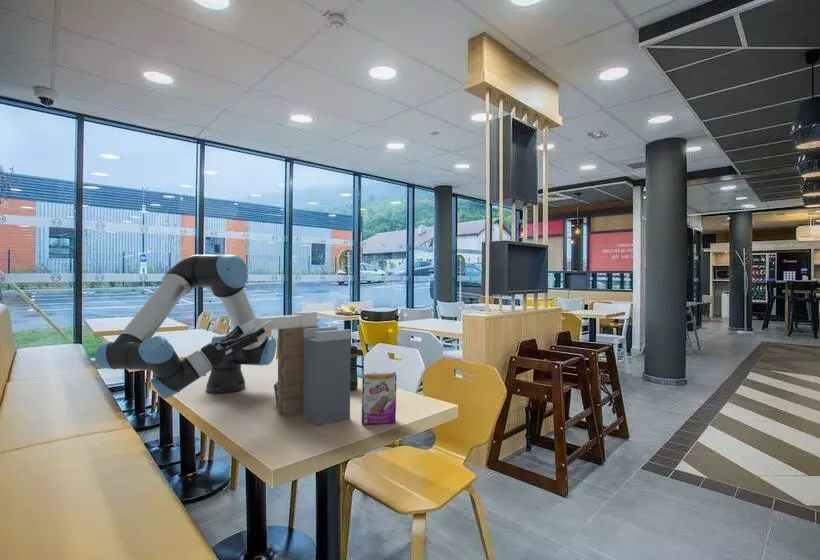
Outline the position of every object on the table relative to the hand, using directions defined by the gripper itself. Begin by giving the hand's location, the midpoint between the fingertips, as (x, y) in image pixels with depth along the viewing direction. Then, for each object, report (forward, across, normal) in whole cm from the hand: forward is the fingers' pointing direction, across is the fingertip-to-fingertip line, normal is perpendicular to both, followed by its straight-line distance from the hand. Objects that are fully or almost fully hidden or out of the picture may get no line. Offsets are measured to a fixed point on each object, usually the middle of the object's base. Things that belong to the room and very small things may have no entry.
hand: (265, 321), depth 145 cm
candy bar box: (+8, +26, -43) cm, 51 cm away
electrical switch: (-6, -11, -34) cm, 36 cm away
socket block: (-2, +12, -36) cm, 38 cm away
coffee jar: (+19, -18, -49) cm, 55 cm away
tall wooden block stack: (-6, 0, -34) cm, 34 cm away
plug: (+6, 0, -6) cm, 8 cm away
